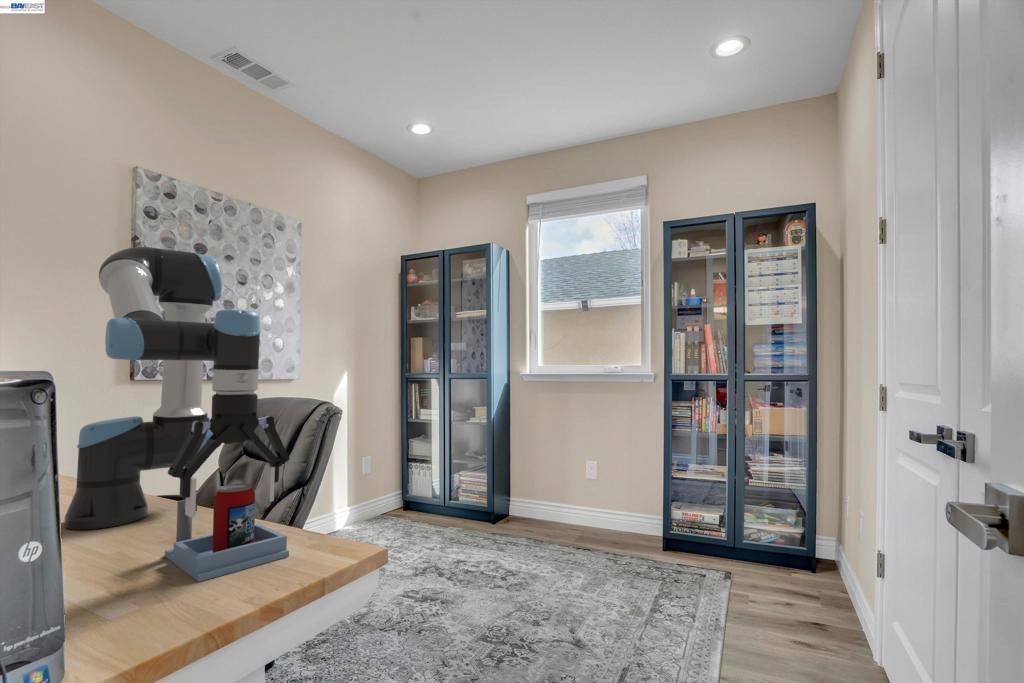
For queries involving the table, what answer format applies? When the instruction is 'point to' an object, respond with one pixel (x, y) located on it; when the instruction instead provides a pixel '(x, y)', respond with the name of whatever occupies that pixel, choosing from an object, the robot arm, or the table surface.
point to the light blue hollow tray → (206, 564)
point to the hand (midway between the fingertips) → (231, 507)
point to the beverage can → (233, 516)
